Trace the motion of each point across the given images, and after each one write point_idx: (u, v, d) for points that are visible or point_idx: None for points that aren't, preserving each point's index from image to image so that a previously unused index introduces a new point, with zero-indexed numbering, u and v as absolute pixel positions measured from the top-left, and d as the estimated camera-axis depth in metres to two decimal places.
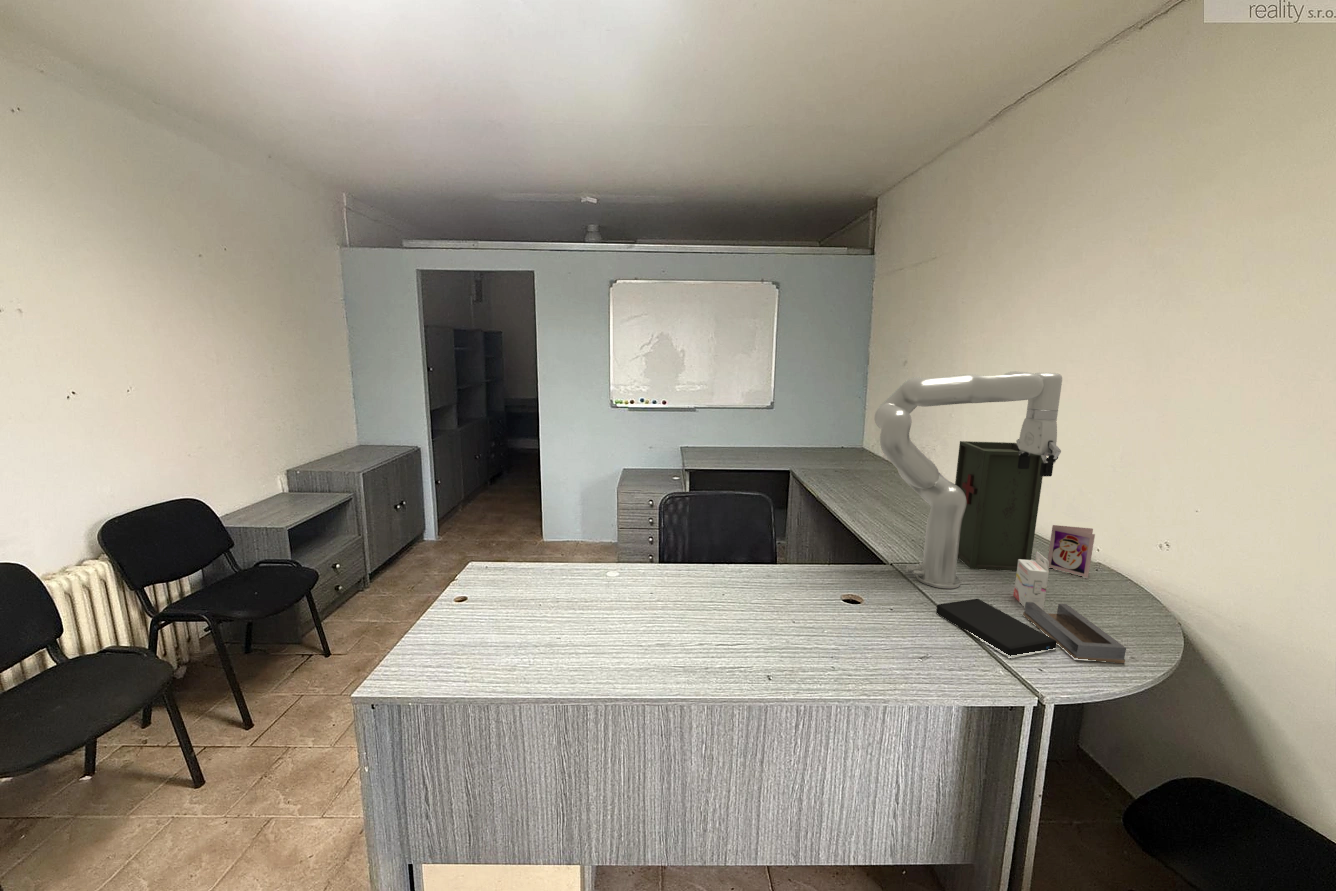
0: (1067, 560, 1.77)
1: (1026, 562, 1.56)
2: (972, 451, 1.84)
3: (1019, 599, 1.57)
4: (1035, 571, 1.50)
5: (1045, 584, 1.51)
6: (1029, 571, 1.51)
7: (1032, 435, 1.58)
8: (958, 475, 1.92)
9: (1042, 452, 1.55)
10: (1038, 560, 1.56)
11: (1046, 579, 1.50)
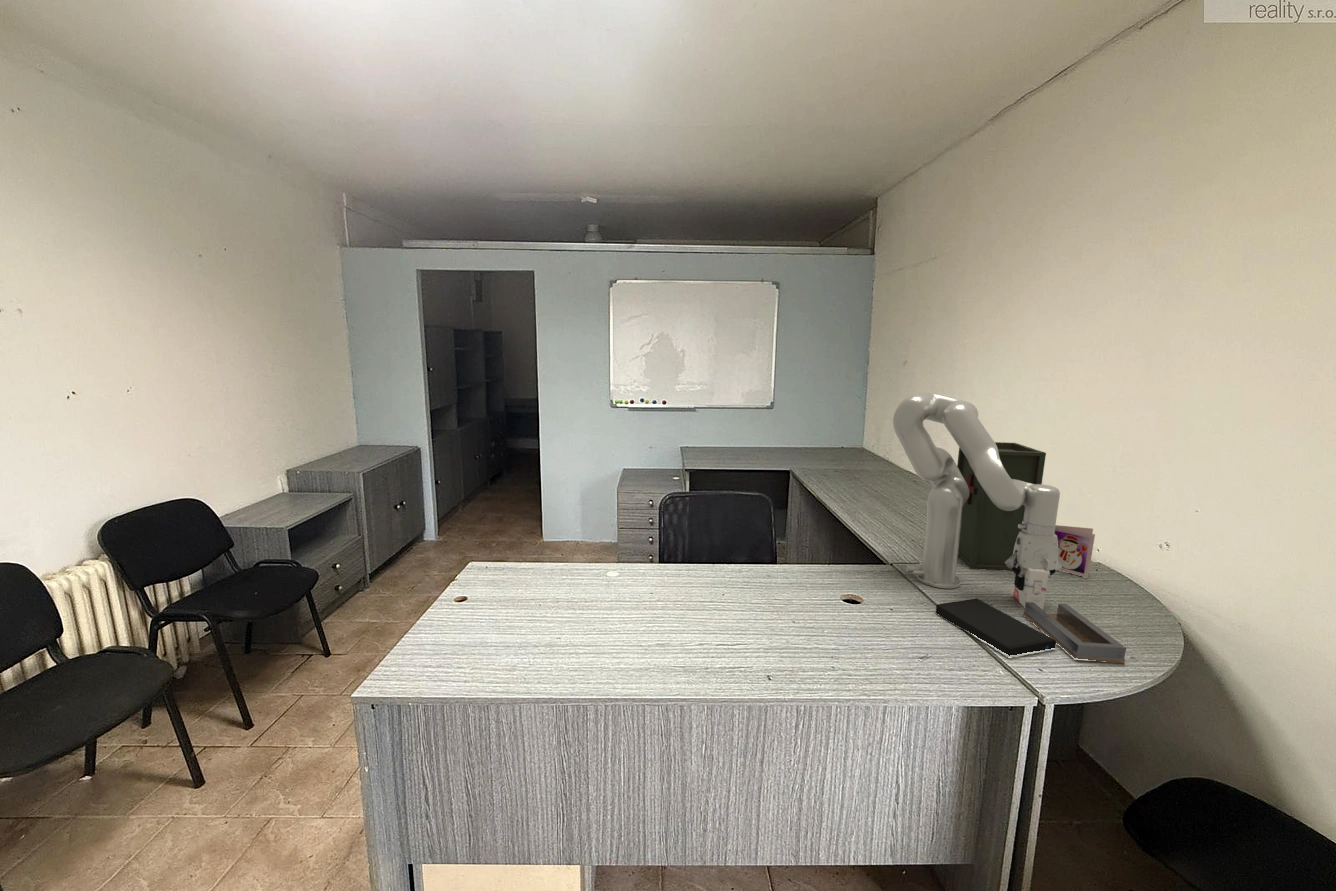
0: (1067, 560, 1.77)
1: None
2: None
3: (1019, 599, 1.57)
4: (1036, 571, 1.50)
5: (1045, 584, 1.51)
6: (1029, 571, 1.51)
7: (1046, 552, 1.50)
8: None
9: None
10: None
11: (1046, 579, 1.50)
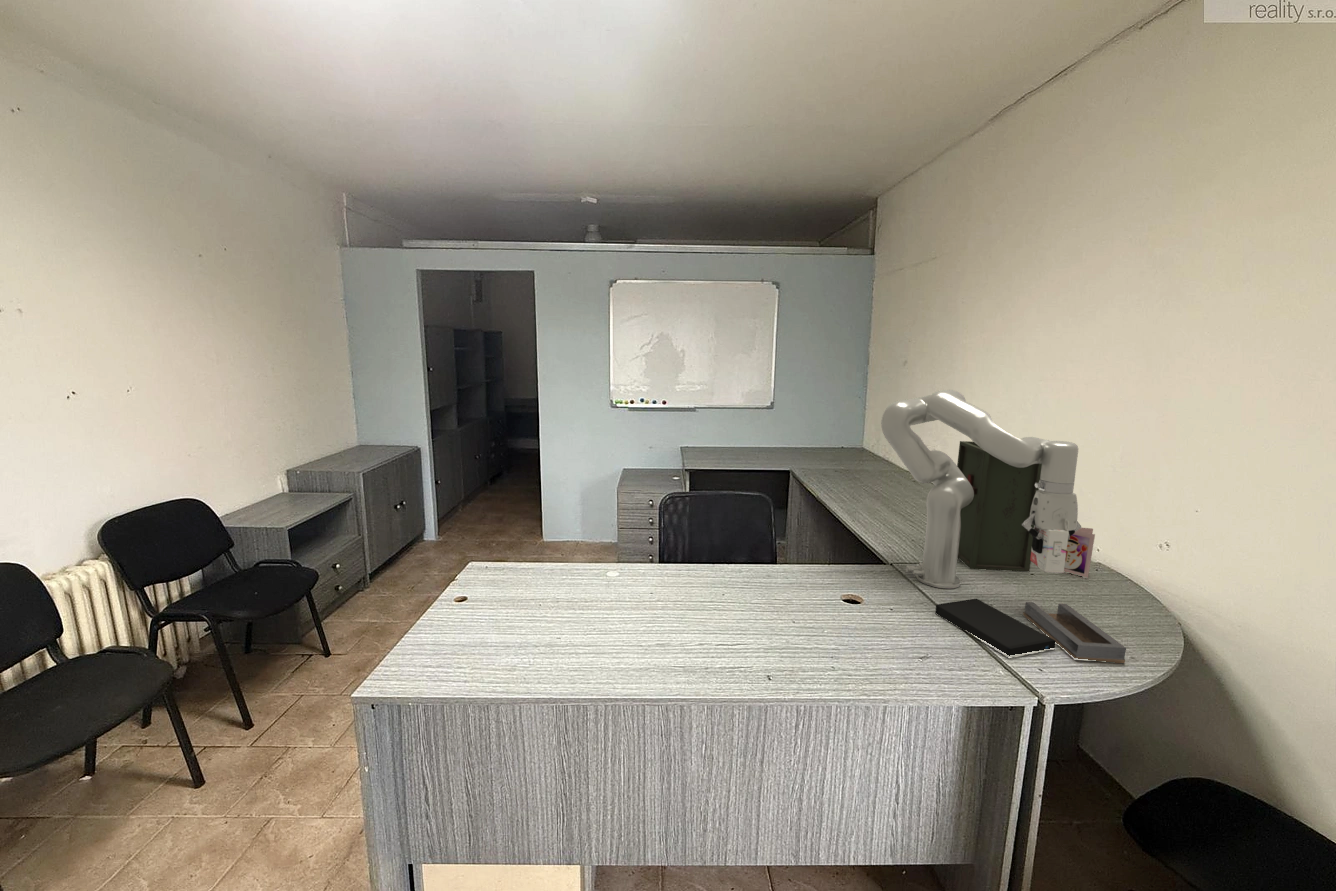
0: (1067, 560, 1.77)
1: None
2: (972, 451, 1.84)
3: (1037, 563, 1.49)
4: (1055, 531, 1.43)
5: (1065, 545, 1.43)
6: (1048, 532, 1.44)
7: (1065, 511, 1.43)
8: None
9: None
10: None
11: (1066, 540, 1.43)
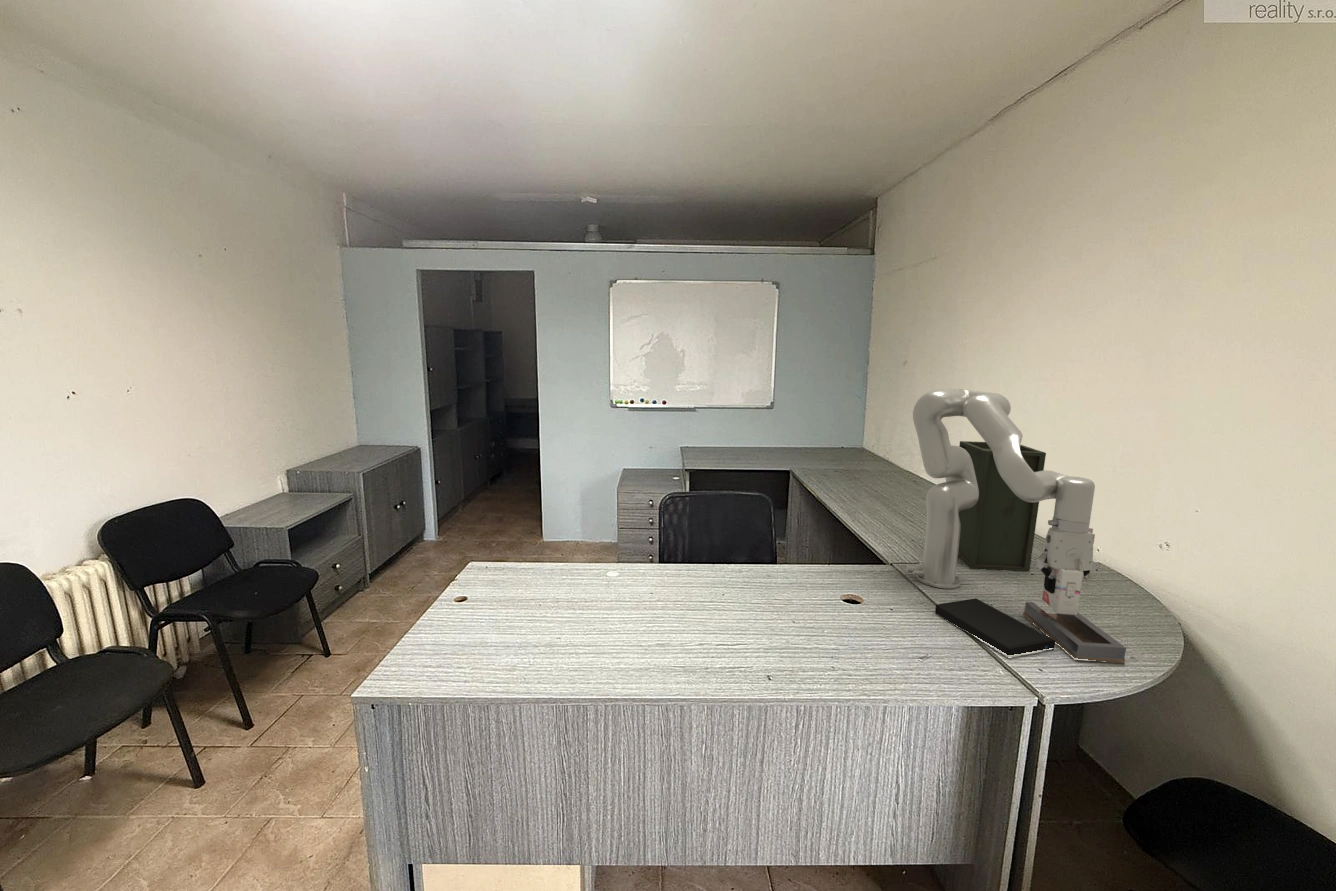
0: None
1: None
2: (972, 451, 1.84)
3: (1049, 603, 1.43)
4: (1068, 572, 1.37)
5: (1079, 586, 1.37)
6: (1061, 572, 1.37)
7: (1079, 550, 1.37)
8: None
9: None
10: None
11: (1080, 581, 1.36)
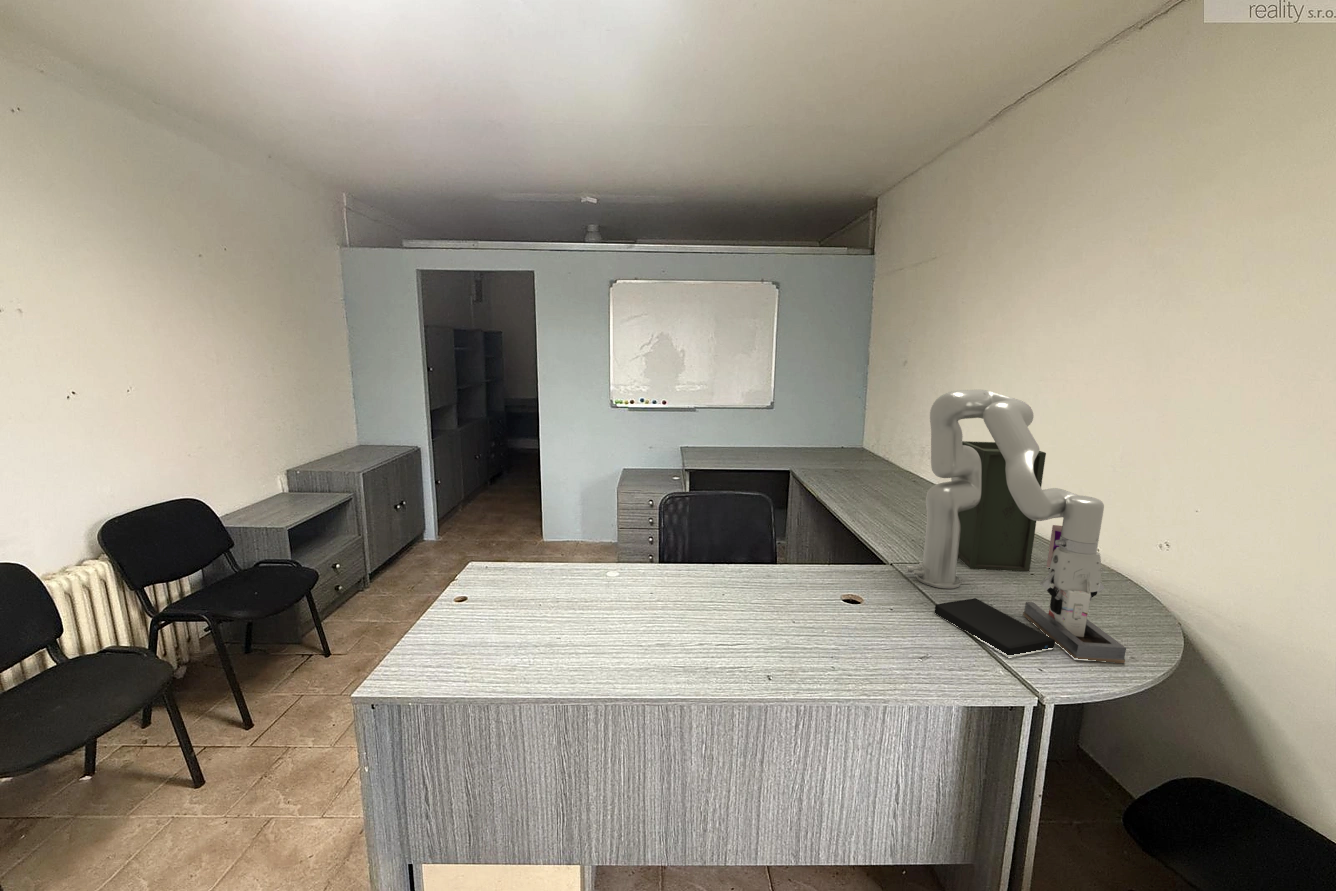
0: None
1: None
2: None
3: None
4: (1076, 593, 1.34)
5: (1086, 608, 1.34)
6: (1068, 593, 1.34)
7: (1087, 572, 1.34)
8: None
9: None
10: None
11: (1088, 602, 1.33)
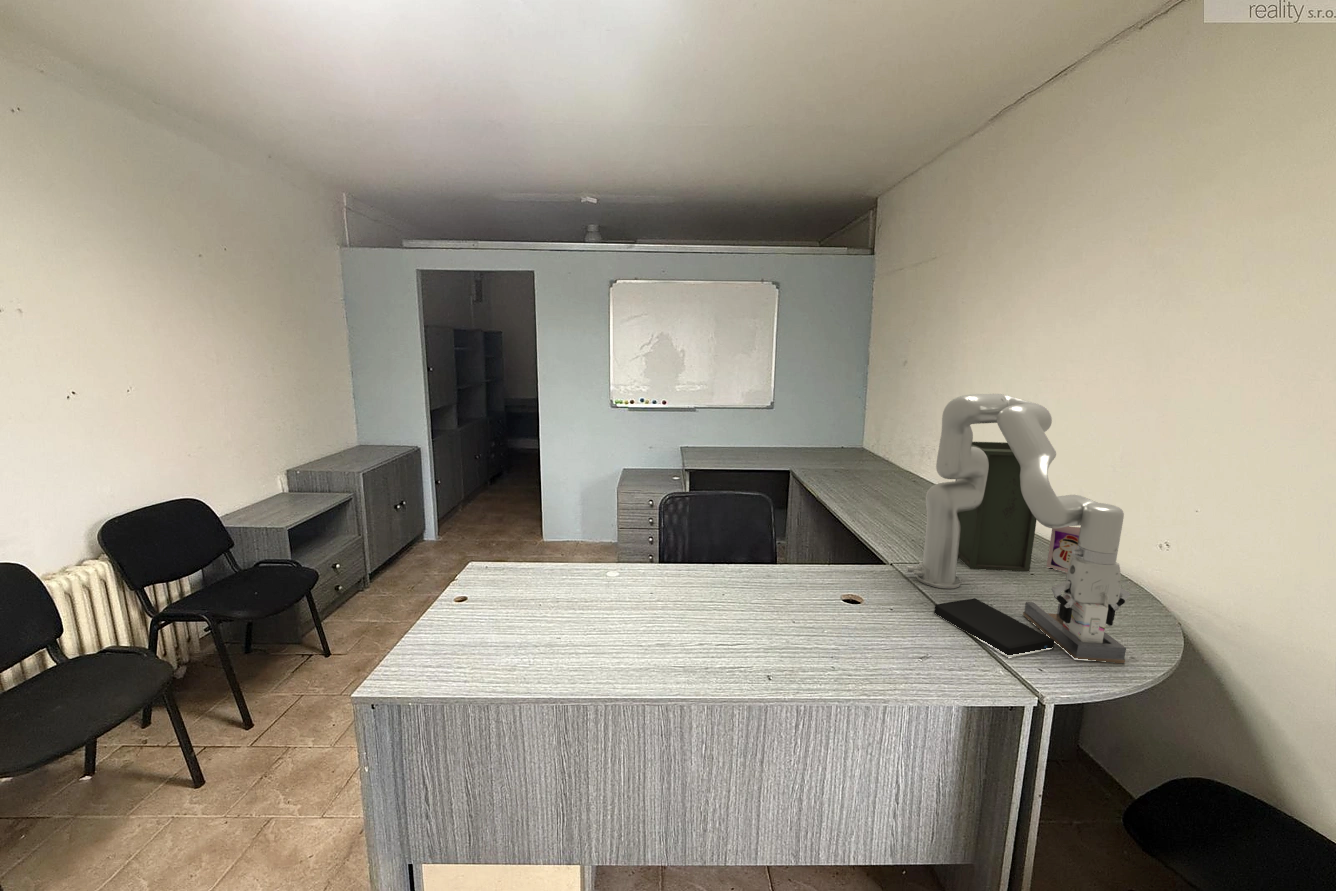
0: (1067, 560, 1.77)
1: None
2: None
3: None
4: (1093, 607, 1.27)
5: (1104, 622, 1.28)
6: (1085, 607, 1.28)
7: (1106, 583, 1.27)
8: None
9: None
10: None
11: (1105, 616, 1.27)
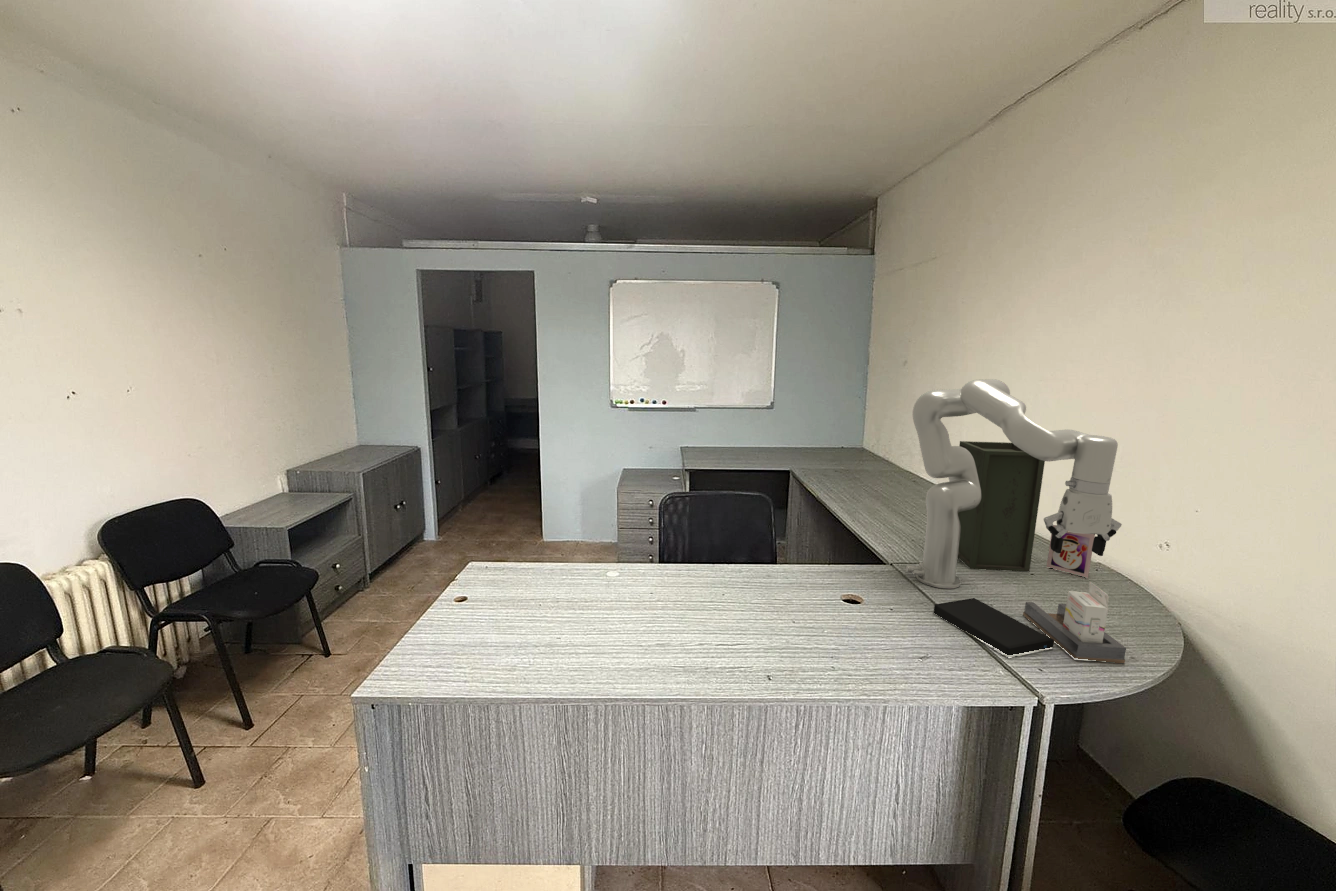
0: (1067, 560, 1.77)
1: (1079, 595, 1.33)
2: (972, 451, 1.84)
3: None
4: (1093, 607, 1.27)
5: (1104, 622, 1.28)
6: (1085, 607, 1.28)
7: (1097, 513, 1.30)
8: None
9: None
10: (1093, 593, 1.33)
11: (1105, 616, 1.27)
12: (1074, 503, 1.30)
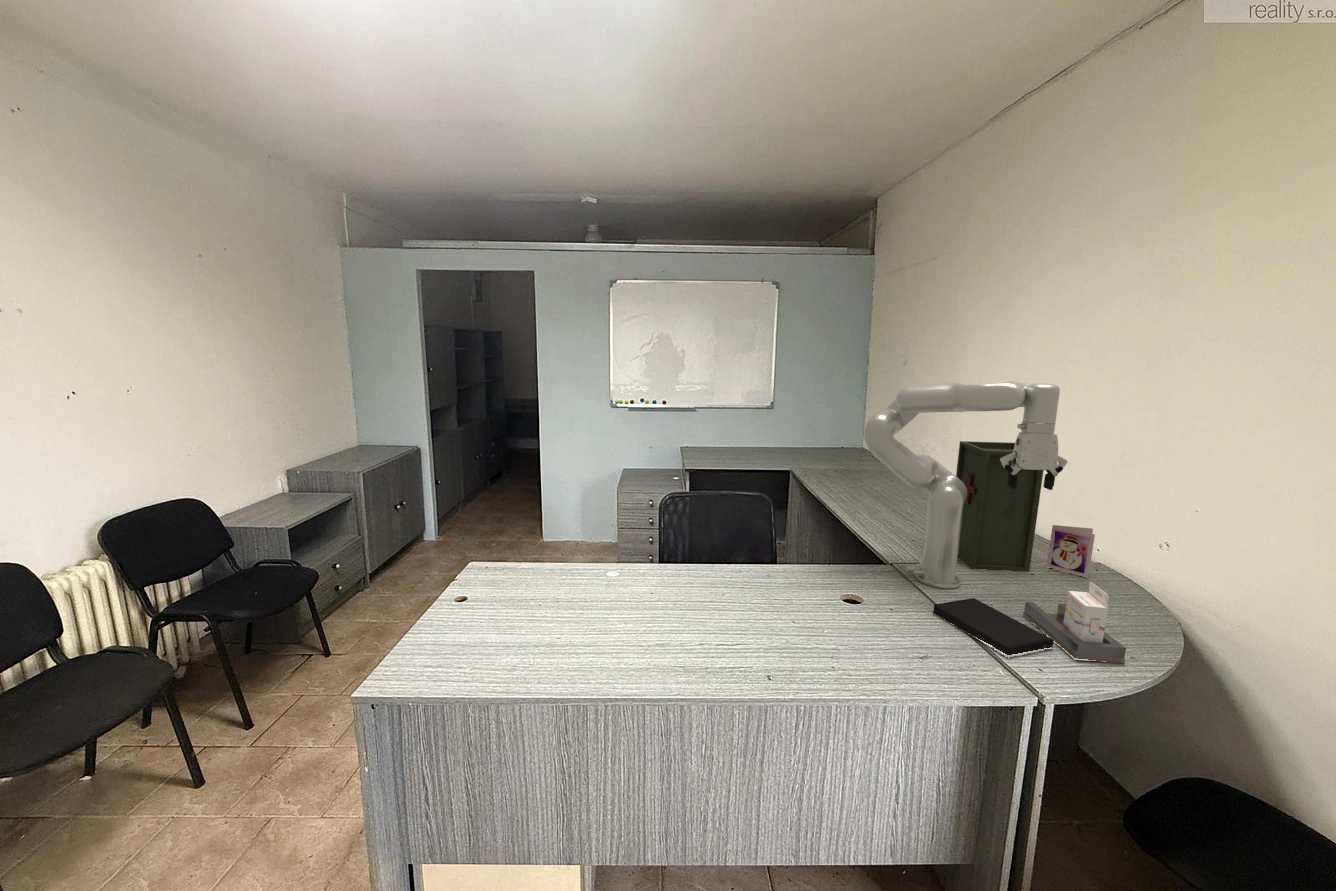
0: (1067, 560, 1.77)
1: (1079, 595, 1.33)
2: (972, 451, 1.84)
3: None
4: (1093, 607, 1.27)
5: (1104, 622, 1.28)
6: (1085, 607, 1.28)
7: (1045, 451, 1.49)
8: (958, 475, 1.92)
9: None
10: (1093, 593, 1.33)
11: (1105, 616, 1.27)
12: (1025, 443, 1.49)
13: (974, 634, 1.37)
